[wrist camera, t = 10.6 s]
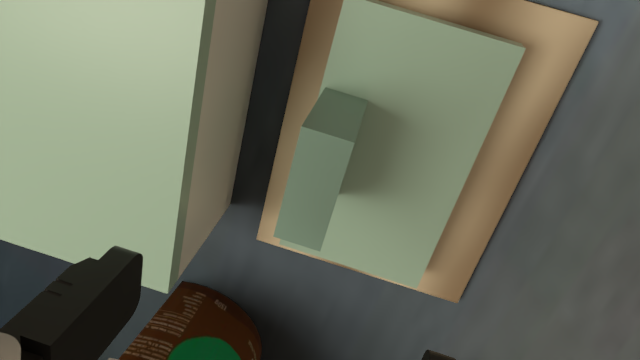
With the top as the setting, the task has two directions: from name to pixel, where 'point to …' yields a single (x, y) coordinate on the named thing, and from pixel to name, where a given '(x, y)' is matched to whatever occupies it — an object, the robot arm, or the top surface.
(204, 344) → the food container
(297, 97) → the cork mat
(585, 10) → the top surface
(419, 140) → the lid piece
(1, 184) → the parts tub
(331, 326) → the top surface
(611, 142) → the top surface
